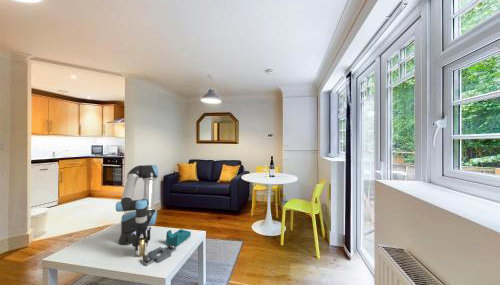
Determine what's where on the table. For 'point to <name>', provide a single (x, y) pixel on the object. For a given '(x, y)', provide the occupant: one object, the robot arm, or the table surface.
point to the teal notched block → (177, 237)
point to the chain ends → (153, 255)
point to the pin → (141, 247)
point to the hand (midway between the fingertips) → (141, 252)
